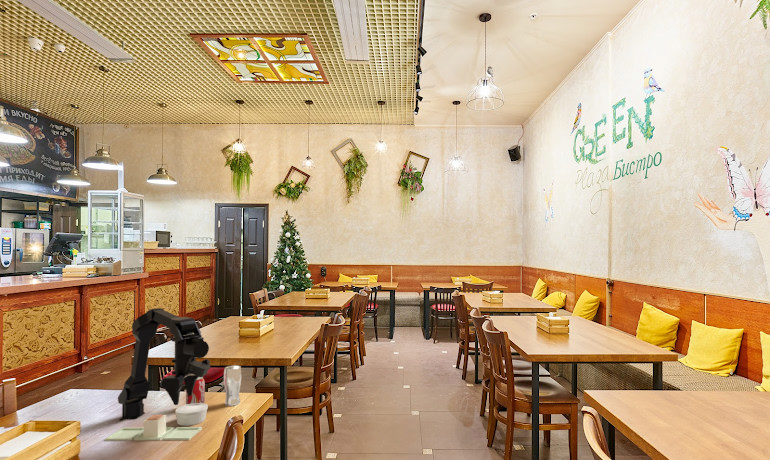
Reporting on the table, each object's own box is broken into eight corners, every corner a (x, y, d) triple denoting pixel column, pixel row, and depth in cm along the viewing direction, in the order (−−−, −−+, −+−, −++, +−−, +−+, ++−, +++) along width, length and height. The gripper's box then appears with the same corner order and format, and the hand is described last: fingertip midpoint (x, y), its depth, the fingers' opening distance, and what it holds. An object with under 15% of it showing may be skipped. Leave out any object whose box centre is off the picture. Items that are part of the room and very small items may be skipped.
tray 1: (105, 441, 141) (105, 438, 141) (122, 430, 150) (122, 427, 150) (131, 441, 140) (131, 438, 140) (147, 430, 149) (147, 427, 149)
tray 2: (133, 441, 140) (134, 438, 140) (149, 430, 149) (149, 427, 149) (160, 441, 140) (160, 438, 140) (174, 430, 149) (174, 427, 149)
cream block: (143, 437, 142) (143, 419, 143) (152, 431, 147) (152, 414, 148) (157, 437, 142) (157, 419, 142) (165, 431, 147) (166, 414, 147)
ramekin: (207, 414, 164) (207, 400, 164) (208, 424, 154) (208, 409, 154) (175, 419, 159) (175, 405, 159) (174, 430, 149) (174, 415, 149)
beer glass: (230, 407, 170) (231, 370, 171) (220, 404, 174) (220, 368, 175) (244, 402, 176) (244, 366, 177) (234, 399, 180) (234, 364, 181)
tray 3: (163, 441, 140) (163, 438, 140) (177, 430, 149) (177, 427, 149) (189, 441, 140) (189, 438, 140) (201, 429, 149) (201, 427, 149)
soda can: (197, 410, 167) (197, 380, 168) (182, 410, 169) (182, 379, 170) (208, 404, 174) (208, 375, 175) (193, 403, 176) (193, 375, 176)
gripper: (193, 361, 136) (192, 409, 135) (217, 348, 155) (217, 391, 154) (160, 361, 137) (159, 410, 136) (188, 349, 155) (188, 391, 154)
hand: (183, 400), depth 145 cm, fingers open, 9 cm apart
